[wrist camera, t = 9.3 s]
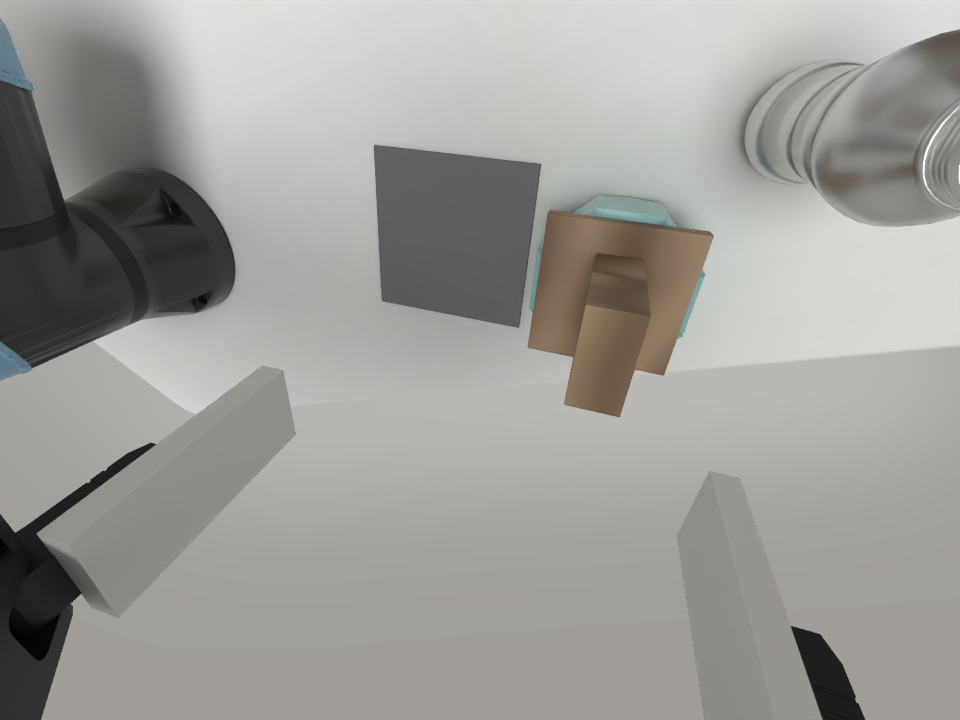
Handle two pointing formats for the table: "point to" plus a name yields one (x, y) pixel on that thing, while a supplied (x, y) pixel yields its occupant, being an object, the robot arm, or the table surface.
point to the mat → (454, 232)
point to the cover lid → (613, 300)
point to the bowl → (628, 211)
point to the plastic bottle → (868, 133)
